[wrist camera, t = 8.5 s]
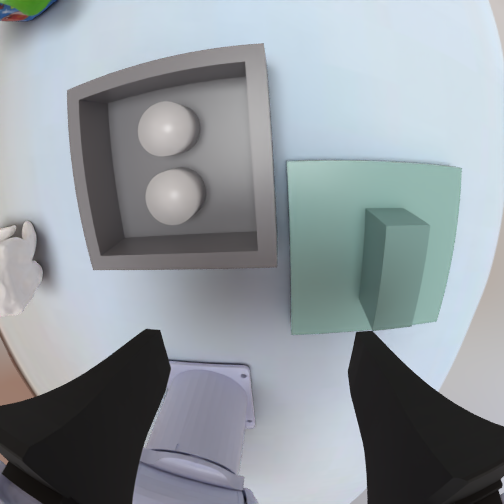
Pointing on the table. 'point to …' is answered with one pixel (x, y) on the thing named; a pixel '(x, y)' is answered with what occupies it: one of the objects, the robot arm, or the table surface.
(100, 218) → the storage box
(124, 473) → the robot arm
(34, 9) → the snack cup
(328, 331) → the lid
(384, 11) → the table surface
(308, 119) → the table surface
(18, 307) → the white lumpy piece
